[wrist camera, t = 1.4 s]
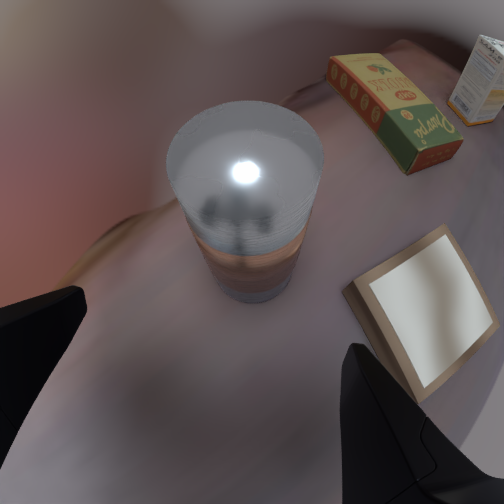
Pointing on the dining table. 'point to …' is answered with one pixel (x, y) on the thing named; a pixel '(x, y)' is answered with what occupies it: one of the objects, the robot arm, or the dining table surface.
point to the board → (423, 312)
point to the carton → (394, 110)
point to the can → (247, 192)
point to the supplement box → (481, 84)
